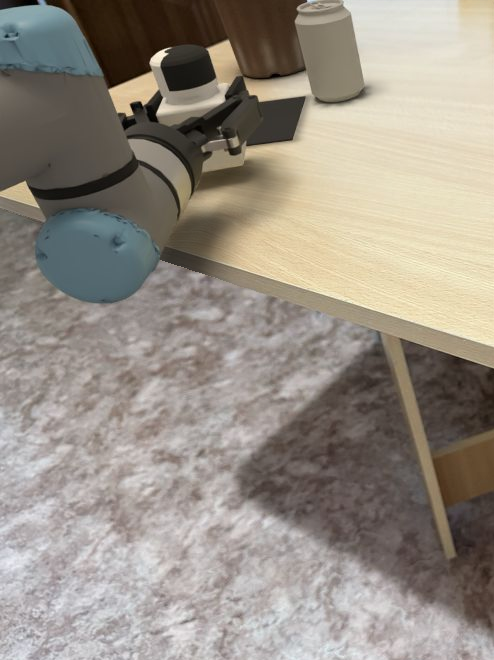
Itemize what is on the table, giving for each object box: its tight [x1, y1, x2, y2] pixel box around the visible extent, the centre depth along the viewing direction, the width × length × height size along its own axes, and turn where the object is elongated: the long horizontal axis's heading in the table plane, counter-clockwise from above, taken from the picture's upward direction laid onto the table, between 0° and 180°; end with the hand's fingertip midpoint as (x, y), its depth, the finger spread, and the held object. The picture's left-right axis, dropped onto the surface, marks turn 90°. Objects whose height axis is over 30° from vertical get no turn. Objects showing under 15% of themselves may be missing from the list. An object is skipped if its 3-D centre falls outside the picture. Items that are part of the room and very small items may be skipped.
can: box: [295, 0, 365, 103], centre depth 94 cm, size 8×8×12 cm
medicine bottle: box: [149, 44, 247, 173], centre depth 75 cm, size 7×7×12 cm
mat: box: [246, 95, 306, 147], centre depth 92 cm, size 18×16×1 cm
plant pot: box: [213, 0, 308, 79], centre depth 107 cm, size 16×16×16 cm
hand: (206, 92), depth 79 cm, fingers closed on medicine bottle, 8 cm apart
